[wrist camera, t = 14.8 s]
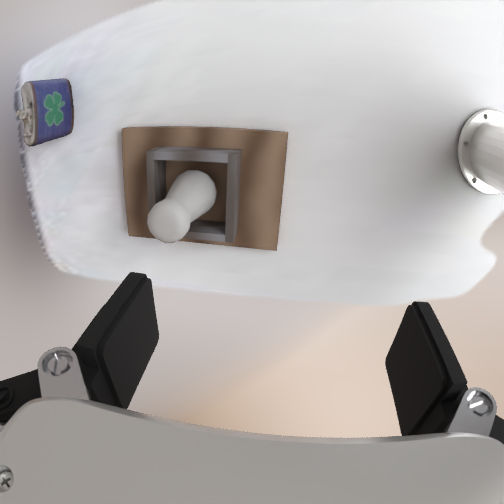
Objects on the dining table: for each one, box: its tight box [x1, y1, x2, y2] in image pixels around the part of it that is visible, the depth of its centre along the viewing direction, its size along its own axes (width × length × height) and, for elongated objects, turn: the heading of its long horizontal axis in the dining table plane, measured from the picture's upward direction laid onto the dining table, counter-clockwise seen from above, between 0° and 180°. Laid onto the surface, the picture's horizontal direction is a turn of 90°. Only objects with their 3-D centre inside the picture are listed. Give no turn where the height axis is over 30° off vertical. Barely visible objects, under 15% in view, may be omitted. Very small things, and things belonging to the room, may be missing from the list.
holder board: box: [122, 126, 288, 251], centre depth 40 cm, size 22×16×6 cm
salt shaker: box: [147, 170, 217, 243], centre depth 35 cm, size 6×6×13 cm
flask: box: [16, 79, 74, 147], centre depth 34 cm, size 9×3×11 cm, turn 179°
